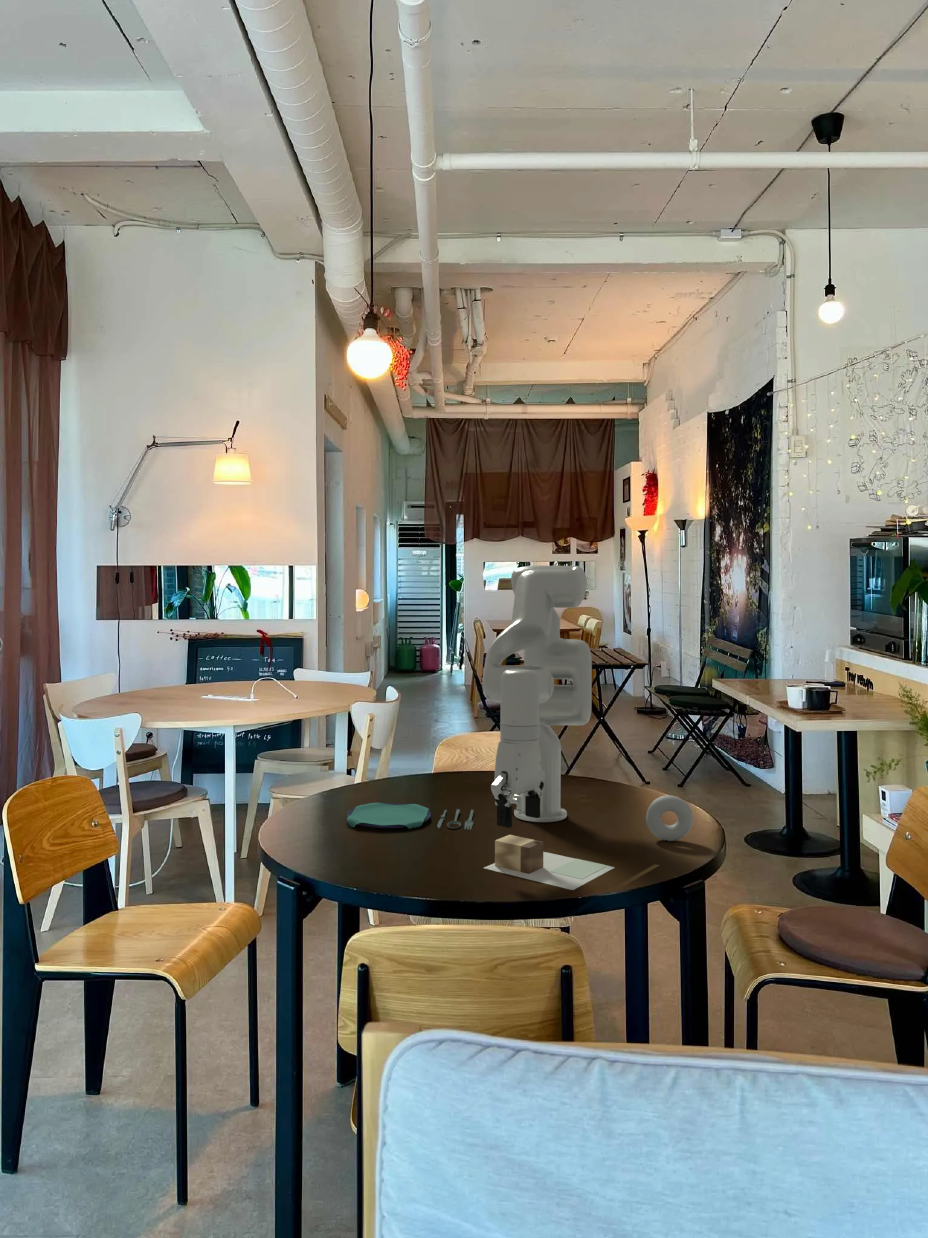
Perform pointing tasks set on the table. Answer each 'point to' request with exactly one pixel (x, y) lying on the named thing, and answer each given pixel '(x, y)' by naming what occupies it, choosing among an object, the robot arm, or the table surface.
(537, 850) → the oak block
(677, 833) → the donut
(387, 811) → the cutlery set
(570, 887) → the grey mat
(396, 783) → the table surface
